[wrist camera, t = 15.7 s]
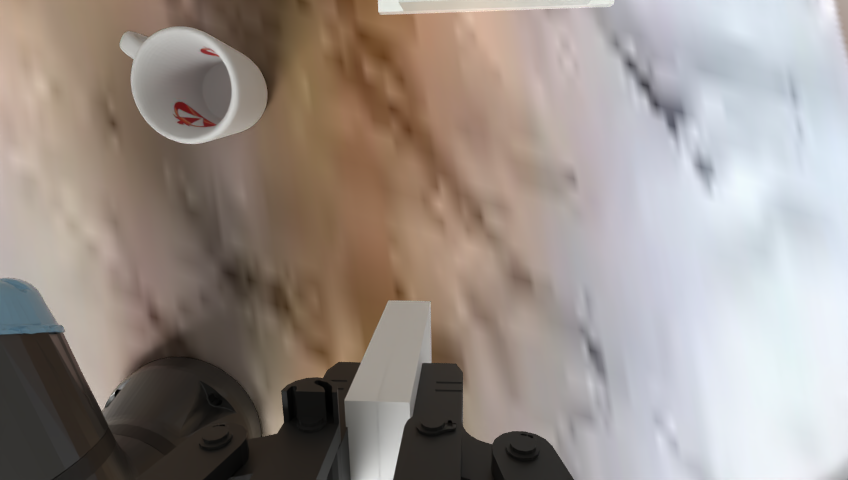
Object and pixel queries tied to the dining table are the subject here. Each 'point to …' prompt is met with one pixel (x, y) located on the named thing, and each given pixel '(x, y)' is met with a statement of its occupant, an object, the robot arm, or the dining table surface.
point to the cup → (193, 84)
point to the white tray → (480, 5)
